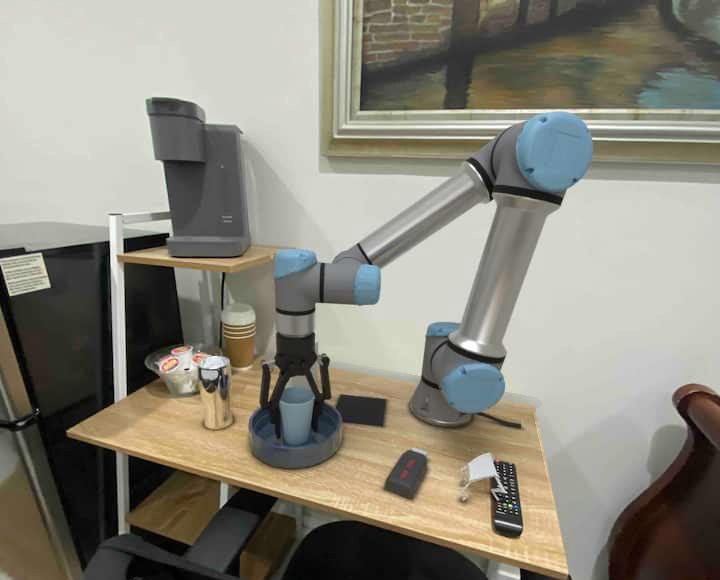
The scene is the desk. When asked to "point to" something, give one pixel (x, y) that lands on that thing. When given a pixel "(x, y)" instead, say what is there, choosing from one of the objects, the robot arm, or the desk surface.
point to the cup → (296, 414)
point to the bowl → (295, 455)
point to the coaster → (361, 409)
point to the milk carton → (302, 379)
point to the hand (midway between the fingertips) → (296, 431)
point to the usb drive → (407, 473)
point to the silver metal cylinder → (215, 390)
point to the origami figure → (481, 473)
